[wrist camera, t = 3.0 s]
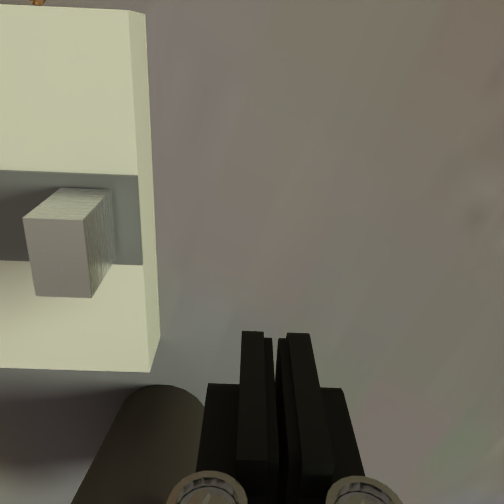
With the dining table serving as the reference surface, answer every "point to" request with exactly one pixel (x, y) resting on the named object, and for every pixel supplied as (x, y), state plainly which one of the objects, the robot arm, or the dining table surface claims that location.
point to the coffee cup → (146, 449)
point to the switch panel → (77, 182)
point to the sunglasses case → (37, 2)
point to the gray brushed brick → (71, 242)
